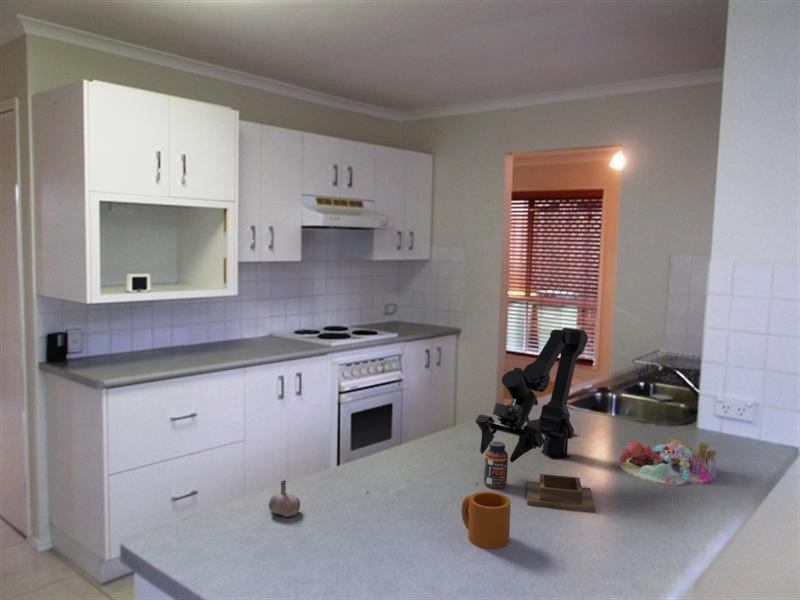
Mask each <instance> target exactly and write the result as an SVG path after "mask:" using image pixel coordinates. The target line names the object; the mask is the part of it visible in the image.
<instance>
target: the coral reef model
mask: <svg viewBox="0 0 800 600" xmlns="http://www.w3.org/2000/svg"><path fill="white" fill-rule="evenodd" d="M708 448H709V443H707V442H700V443H699V445H698V451H697V450H693V449H692V447H691V446H690V445H687V444H685V443H684V442H682V441H681V440H679V439H677V438H675V437H669V438H668V439H667V441H666V444H663V443H662V444H657V445H656V446H653V447H652V448H651V447H650V446H649V445H646V444H645V445H643V446H642V444H641V443H640V442H638V441H635V440H634V441H631V442H629V443H628V445H627V449H624V450H623V451H621V455H622V456H620V457H619V458H618V459H619V465H620V468H621V469H622V471H625V472H626V473H627V474H629V475H633V476H635V477H636V478H640V479H642V480H644V481H647V482H648V481H649V482H652V483H656V484H660V485H667V486H669V485H670V486H682V485H684V484H686V483H690V484H708V483H709V482H710V483H711V481H712V482H714V480H716V479H717V472H716V467H717V466H716V464H717V458H716V454H717V450H716V449H715V450H708ZM707 450H708V451H707Z"/></svg>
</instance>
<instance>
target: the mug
mask: <svg viewBox="0 0 800 600" xmlns="http://www.w3.org/2000/svg"><path fill="white" fill-rule="evenodd" d="M462 500H463V501H462V504H461V513H460V514H461V518H462V521H463V525H464V526H465V528H466V529H467V530H468V533H467V535H468V536H467V538H468V540H469V542H470V543H471V544H472V545H474V546H476V547H479V548H481V549H487V550H488V549H489V550H494V549H495V550H496V549H501V548H502V549H503V548H505V547H506V546H507V545H509V543H510V528H511V525H510V524H511V503H512V502H511V499H510V498H509V497H508V496H507V495H505V494H502V493H501V492H500V493H499V492H495V491H479V492H478V491H477V492H475V493H472V494H467V495H466V496H465V497H464V498H463V499H462Z"/></svg>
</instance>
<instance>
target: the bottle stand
mask: <svg viewBox="0 0 800 600" xmlns="http://www.w3.org/2000/svg"><path fill="white" fill-rule="evenodd" d="M526 489H527V490H526V491H527V493H526V494H527V497H526V499H527V500H526V502H527V503H526V505H527V506H534V507H543V508H544V507H545V508H553V509H561V510H572V511H578V512H579V511H582V512H590V513H595V512H596V506H595V502H594V498H593V494H592V488H591V487H586V486H582V484H581V479H580V477H576V476H566V475H556V474H545V473H544V474H543V473H539V482H535V481H527V487H526Z"/></svg>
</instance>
